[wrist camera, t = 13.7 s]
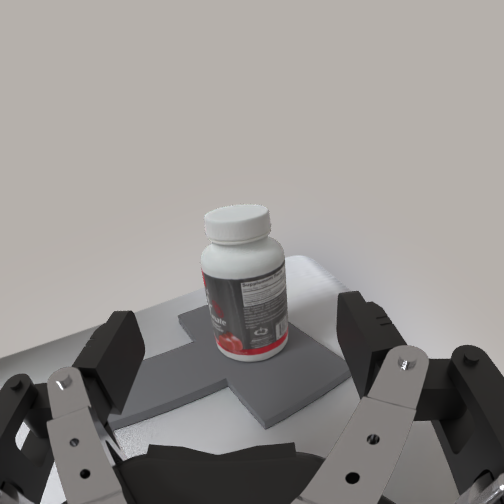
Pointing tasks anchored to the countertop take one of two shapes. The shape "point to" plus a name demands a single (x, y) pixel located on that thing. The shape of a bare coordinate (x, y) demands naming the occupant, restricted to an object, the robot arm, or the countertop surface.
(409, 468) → the countertop surface
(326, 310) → the countertop surface
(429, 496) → the countertop surface
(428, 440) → the countertop surface
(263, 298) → the pill bottle
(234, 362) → the t mat
